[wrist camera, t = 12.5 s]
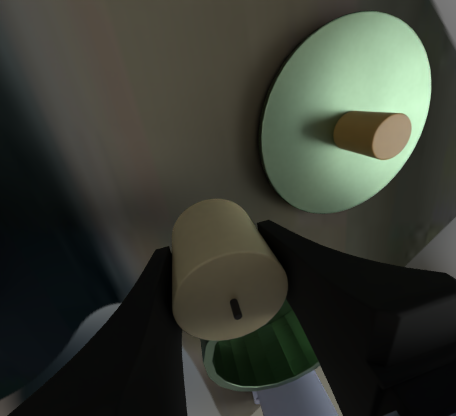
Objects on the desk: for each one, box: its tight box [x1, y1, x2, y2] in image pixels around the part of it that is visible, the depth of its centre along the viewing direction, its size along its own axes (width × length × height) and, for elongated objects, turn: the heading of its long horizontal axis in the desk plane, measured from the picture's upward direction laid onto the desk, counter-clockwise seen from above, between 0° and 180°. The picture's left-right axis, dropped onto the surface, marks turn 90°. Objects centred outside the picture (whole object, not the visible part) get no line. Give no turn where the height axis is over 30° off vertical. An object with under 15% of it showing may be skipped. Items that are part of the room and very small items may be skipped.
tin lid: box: [259, 11, 431, 214], centre depth 14 cm, size 12×12×4 cm
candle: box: [172, 199, 288, 341], centre depth 10 cm, size 4×4×5 cm
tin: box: [200, 299, 320, 391], centre depth 18 cm, size 11×11×5 cm
